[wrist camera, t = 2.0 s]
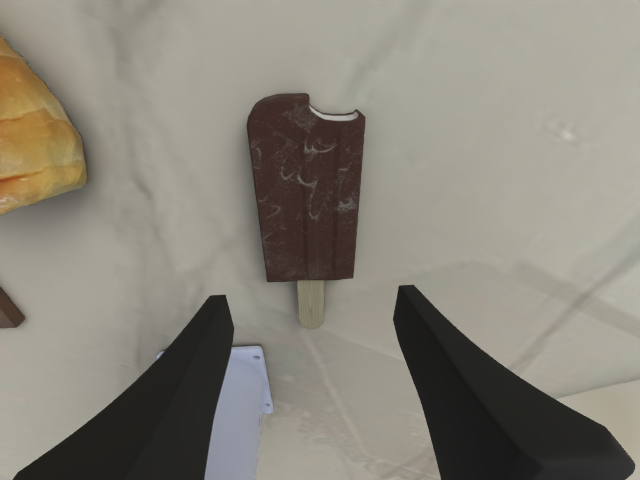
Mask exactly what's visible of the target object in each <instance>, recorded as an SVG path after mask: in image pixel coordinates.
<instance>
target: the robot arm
mask: <svg viewBox="0 0 640 480" xmlns="http://www.w3.org/2000/svg"><path fill="white" fill-rule="evenodd" d="M393 321H394V325H395V330H396V334H397V338H398V342H399V344H400V347H401V350H402V353H403V355H404V358H405V361H406V363H407V366H408V368H409V371H410V374H411V376H412V379H413V382H414V384H415V387H416V389H417V392H418V395H419V398H420V401H421V404H422V407H423V411H424V414H425V418H426V421H427V425H428V429H429V432H430V436H431V440H432V444H433V448H434V452H435V456H436V460H437V464H438V468H439V472H440V476H441V480H625V479H627V478H628V477H629V476H630V475H631V474H632V473H633V472H634V470H635V463H634V461H633V460H632V459H631V458H630V456H629V455H628V454H627V453H626V451H625V450H624V449H623V448H622V446H621V445H620V444H619V443H618V441H617V440H616V439H615V438H614V437H613V436H612V434H611V433H610V432H609V431H608V430H607V428H606V427H604V426H602V425H601V424H599V423H597V422H595V421H593V420H591V419H590V418H588V417H586V416H584V415H582V414H580V413H578V412H576V411H575V410H573V409H571V408H569V407H567V406H565V405H564V404H562V403H560V402H559V401H557V400H555V399H554V398H552V397H550V396H548V395H547V394H545V393H543V392H542V391H540V390H539V389H537V388H535V387H534V386H532V385H531V384H529V383H527V382H526V381H524V380H523V379H522V378H520V377H519V376H517V375H516V374H514V373H513V372H511V371H510V370H508V369H507V368H505V367H504V366H503V365H501V364H500V363H498V362H497V361H496V360H494V359H493V358H492V357H491V356H489V355H488V354H487V353H485V352H484V351H483V350H481V349H480V348H479V347H478V346H476V345H475V344H474V343H473V342H472V341H471V340H469V339H468V338H467V337H466V336H465V335H464V334H462V333H461V332H460V331H459V330H458V329H457V328H456V327H455V326H454V325H453V324H452V323H451V322H450V321H449V320H447V319H446V318H445V317H444V316H443V315H442V314H441V313H440V312H439V311H438V310H437V309H436V308H435V307H434V306H433V305H432V304H431V303H430V302H429V300H428V299H427V298H426V297H425V296H424V295H423V294H422V293H421V292H420V291H419V290H418V289H417V288H416V287H415V286H414V285H402V286H399V289H398V294H397V300H396V306H395V311H394V317H393ZM233 334H234V326H233V322H232V318H231V314H230V310H229V306H228V303H227V299H226V295H212V296H210V297H209V298H208V299H207V300H206V301H205V303H204V304H203V305H202V307H201V308H200V309H199V311H198V312H197V313H196V314H195V316H194V317H193V318H192V320H191V321H190V322H189V323H188V325H187V326H186V327H185V328H184V329H183V331H182V332H181V333H180V334H179V335H178V337H177V338H176V339H175V340H174V341H173V343H172V344H171V345H170V346H169V347H168V348H167V349H166V350H165V351H162V352H159V353H158V355H157V357H156V359H157V360H156V361H155V362H154V363H153V364H152V365H151V366H150V367H149V368H148V369H147V370H146V371H145V372H144V373H143V374H142V375H141V376H140V377H139V378H138V379H137V380H136V381H135V382H134V383H133V384H132V385H131V386H130V387H129V388H128V389H126V390H125V391H124V392H123V393H122V394H121V395H120V396H119V397H117V398H116V399H115V400H114V401H113V402H112V403H110V404H109V405H108V406H107V407H106V408H105V409H104V410H102V411H101V412H100V413H99V414H97V415H96V416H95V417H94V418H92V419H91V420H90V421H88V422H87V423H86V424H85V425H83V426H82V427H81V428H79V429H78V430H77V431H76V432H74V433H73V434H72V435H70V436H69V437H68V438H66V439H65V440H64V441H62V442H61V443H59V444H58V445H57V446H55V447H54V448H52V449H51V450H49V451H48V452H47V453H45V454H44V455H42V456H41V457H39V458H38V459H37V460H35V461H34V462H32V463H31V464H30V465H28V466H27V467H25V468H24V469H22V470H21V471H19V472H18V473H17V474H16V476H15V477H14V479H13V480H256V473H257V463H258V453H259V443H260V432H261V422H262V414H268V413H272V412H273V402H272V396H271V391H270V386H269V381H268V375H267V370H266V365H265V360H264V354H263V349H262V348H261V347H260V346H242V347H232V342H233Z"/></svg>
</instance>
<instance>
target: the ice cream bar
mask: <svg viewBox="0 0 640 480" xmlns="http://www.w3.org/2000/svg"><path fill="white" fill-rule="evenodd" d="M364 130H365V116H364V115H363V114H362V113H361V112H359V111H358V110H355V111H354V112H353V113H348V114H327V113H322V112H320V111H318V110H316V109H314V108H313V107H312V106H311V105H310V104H309V95H308V94H306V93H297V94H276V95H272V96H269V97H266V98H264V99H262V100H260V101H259V102H257V103H256V104H255V106H254V107H253V109H252V111H251V113H250V115H249V117H248V121H247V133H248V140H249V148H250V155H251V163H252V170H253V178H254V185H255V193H256V200H257V208H258V215H259V223H260V230H261V238H262V245H263V253H264V260H265V268H266V275H267V282H287V281H297V287H298V303H299V320H300V324H301V325H302V326H303V327H305V328H308V329H314V328H318V327H320V326H321V325H322V324H323V322H324V280H341V279H350V278H353V274H354V261H355V248H356V235H357V222H358V209H359V196H360V183H361V170H362V157H363V144H364Z"/></svg>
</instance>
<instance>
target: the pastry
mask: <svg viewBox="0 0 640 480" xmlns="http://www.w3.org/2000/svg"><path fill="white" fill-rule="evenodd" d="M86 183H87V171H86V163H85V158H84V151H83V144H82V140H81V137H80V133H79V132H78V131H77V130H76V129H75V128H74V126H73V125H72V123H71V122H70V120H69V118H68V117H67V115H66V113H65V111H64V107H63V105H62V104H61V103H60V102H59V101H58V100H57V98H56V97H55V96H54V95H53V94H52V93H51V92H50V91H49V89H48V88H47V86H46V84H45V83H44V82H43V81H42V80H41V79H39V78H38V77H37V76H36V75H35V73H34V72H33V71H32V69H31V68H30V67H29V66H28V64H27V63H26V62H25V61H24V60H23V58H22V56H20V55H19V54H17V53H16V52H15V51H14V50H13V49H12V48H11V47H10V46H9V45H8V43H7V42H6V41H5V40H4V37H3V36H2V35H0V215H2V214H5V213H8V212H11V211H13V210H15V209H16V208H18V207H20V206H28V205H32V204H35V203H37V202H39V201H41V200H44V199H48V198H51V197H54V196H57V195H60V194H64V193H66V192H69V191H72V190H78V189H81V188H82V187H83V186H84V185H85V184H86Z"/></svg>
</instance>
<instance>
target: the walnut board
mask: <svg viewBox="0 0 640 480" xmlns="http://www.w3.org/2000/svg"><path fill="white" fill-rule="evenodd" d="M24 320H25V317H24V316H23V315H22V314H21V313H20V311H19V310H18V309H17V308H16V306H15V305H14V304H13V303H12V301H11V300H10V299H9V298H8V297H7V295H6V294H5V293H4V292H3V290H2V289H1V288H0V328H16V327H18V326H19V325H20V324H21V323H22V322H23V321H24Z"/></svg>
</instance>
